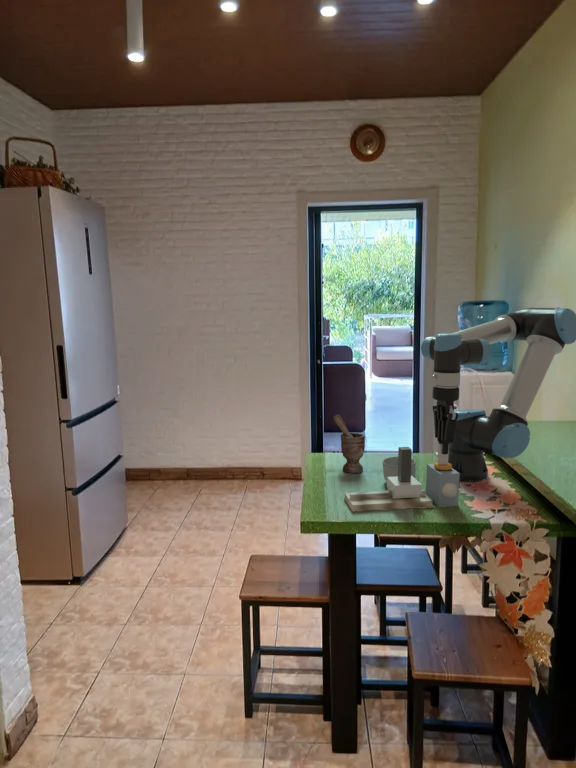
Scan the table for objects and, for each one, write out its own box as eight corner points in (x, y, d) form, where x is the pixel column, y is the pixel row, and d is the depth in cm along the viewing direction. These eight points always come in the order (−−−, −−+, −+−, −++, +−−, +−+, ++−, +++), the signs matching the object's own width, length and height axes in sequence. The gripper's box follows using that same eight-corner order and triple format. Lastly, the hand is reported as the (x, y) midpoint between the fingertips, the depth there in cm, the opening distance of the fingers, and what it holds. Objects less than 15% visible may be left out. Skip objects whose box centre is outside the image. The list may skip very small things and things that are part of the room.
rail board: (419, 495, 166) (419, 484, 165) (432, 507, 156) (432, 495, 155) (344, 499, 163) (344, 488, 162) (352, 511, 153) (352, 500, 152)
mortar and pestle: (330, 472, 188) (331, 417, 185) (333, 465, 196) (333, 412, 193) (363, 474, 186) (364, 419, 183) (364, 467, 194) (365, 413, 191)
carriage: (411, 489, 164) (413, 444, 162) (421, 498, 156) (423, 451, 154) (386, 490, 163) (387, 445, 161) (395, 500, 155) (396, 452, 153)
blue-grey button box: (444, 493, 167) (445, 463, 165) (458, 506, 156) (460, 473, 155) (425, 494, 166) (426, 464, 164) (439, 507, 156) (440, 474, 154)
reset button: (446, 483, 164) (447, 461, 163) (453, 489, 159) (454, 466, 158) (430, 484, 163) (431, 462, 162) (437, 489, 158) (438, 467, 157)
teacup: (411, 490, 170) (412, 466, 168) (378, 486, 174) (378, 462, 173) (419, 478, 182) (420, 455, 181) (388, 473, 187) (389, 451, 185)
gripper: (425, 383, 162) (422, 457, 166) (443, 390, 149) (439, 470, 153) (448, 382, 163) (445, 457, 166) (468, 389, 150) (464, 469, 154)
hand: (442, 463), depth 160 cm, fingers closed
